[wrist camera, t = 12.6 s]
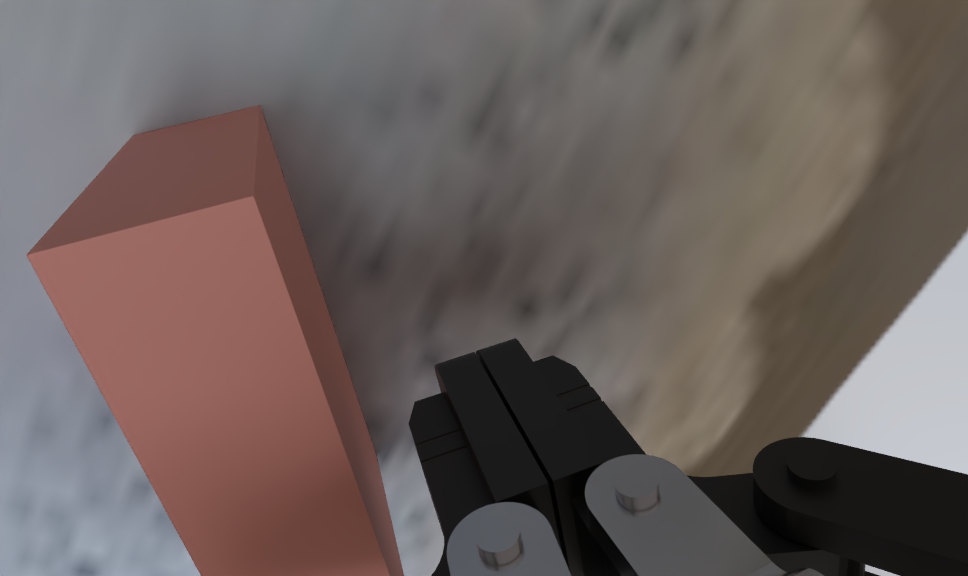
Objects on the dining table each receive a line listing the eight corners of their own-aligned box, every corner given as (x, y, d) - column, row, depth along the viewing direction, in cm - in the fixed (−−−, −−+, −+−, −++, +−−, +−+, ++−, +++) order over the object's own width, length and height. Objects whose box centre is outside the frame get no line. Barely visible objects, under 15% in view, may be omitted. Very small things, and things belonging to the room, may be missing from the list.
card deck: (133, 134, 13) (26, 254, 7) (259, 104, 13) (253, 196, 8) (282, 485, 17) (290, 739, 11) (376, 453, 17) (428, 684, 12)
